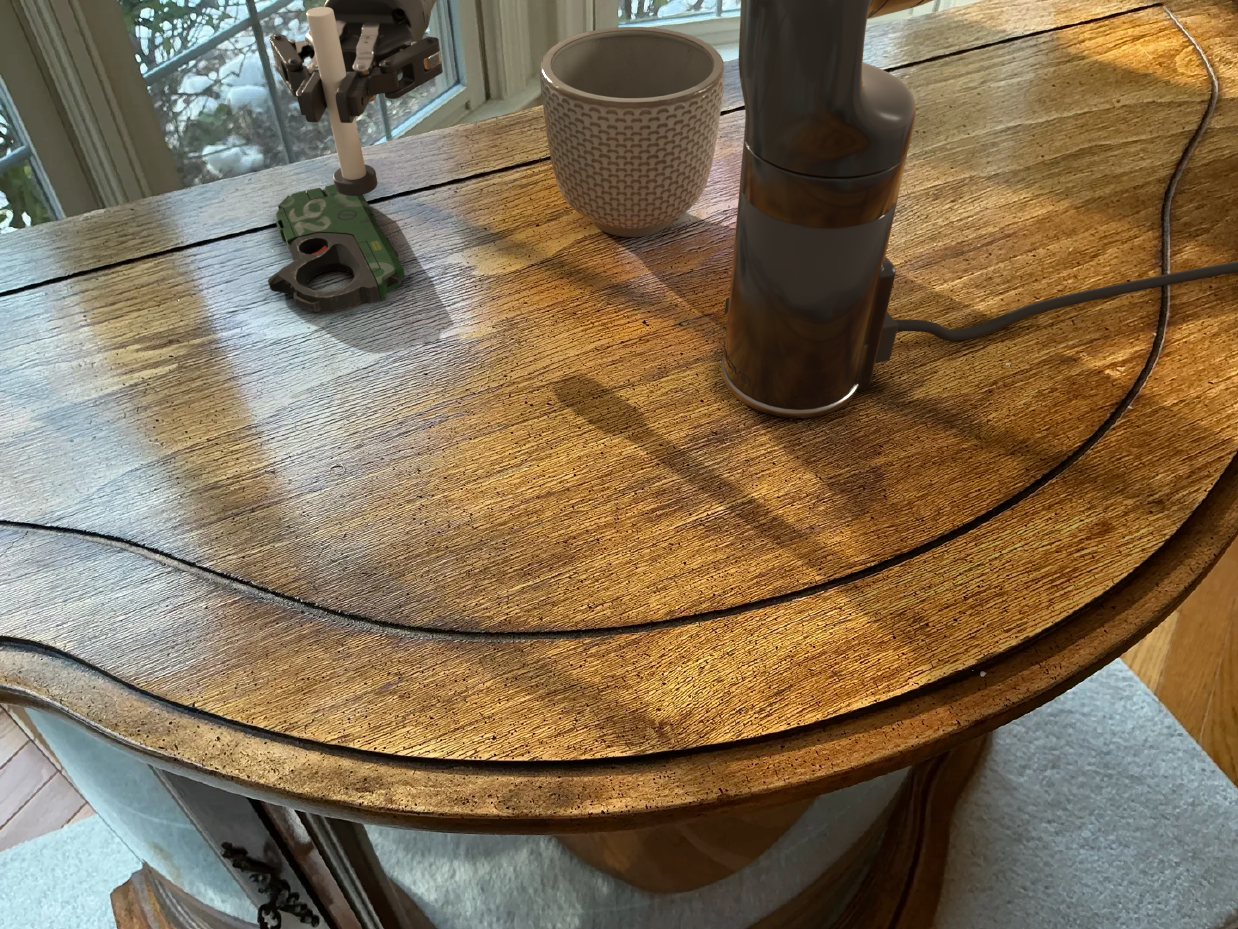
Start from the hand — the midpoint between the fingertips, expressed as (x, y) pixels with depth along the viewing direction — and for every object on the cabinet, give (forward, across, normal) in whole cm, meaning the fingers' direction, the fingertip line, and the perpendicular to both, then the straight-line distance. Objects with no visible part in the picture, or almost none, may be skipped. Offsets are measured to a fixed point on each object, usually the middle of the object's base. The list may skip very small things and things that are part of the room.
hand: (326, 109), depth 68 cm
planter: (-8, +21, +13) cm, 26 cm away
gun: (-2, -3, +13) cm, 13 cm away
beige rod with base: (-3, 0, +8) cm, 8 cm away
